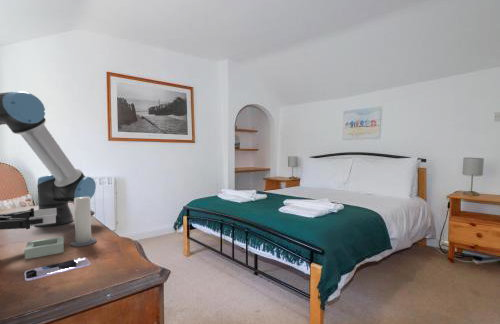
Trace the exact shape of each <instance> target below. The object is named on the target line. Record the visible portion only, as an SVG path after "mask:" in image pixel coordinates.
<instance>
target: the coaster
mask: <svg viewBox="0 0 500 324" xmlns="http://www.w3.org/2000/svg"><path fill="white" fill-rule="evenodd" d="M91 238H92V240H91V241H89V242H85V243H76V239H75V240H73V241H71V242H70V246H71V247H73V248H79V247H87V246H91V245H93V244H95V243H97V238H96V237H91Z"/></svg>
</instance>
